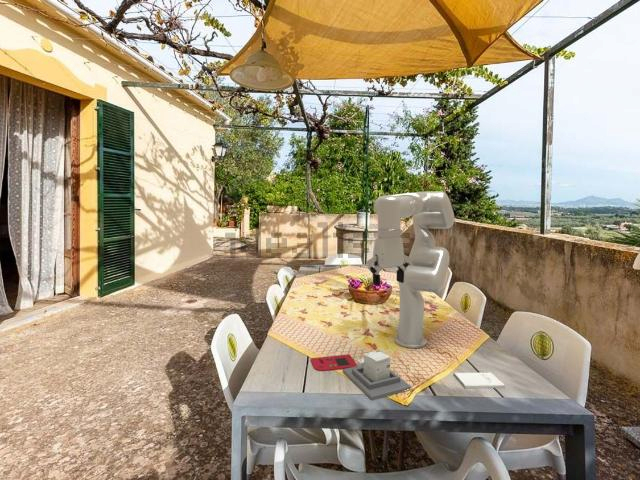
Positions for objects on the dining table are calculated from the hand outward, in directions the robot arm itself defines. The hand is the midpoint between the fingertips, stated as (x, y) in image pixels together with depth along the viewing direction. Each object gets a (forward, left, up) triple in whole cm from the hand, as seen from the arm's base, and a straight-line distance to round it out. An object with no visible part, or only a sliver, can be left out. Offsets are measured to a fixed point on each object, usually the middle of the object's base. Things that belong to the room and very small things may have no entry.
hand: (388, 283), depth 117 cm
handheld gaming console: (-8, -17, -30) cm, 35 cm away
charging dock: (+8, -10, -29) cm, 31 cm away
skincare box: (+8, -9, -28) cm, 31 cm away
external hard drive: (+21, +20, -30) cm, 42 cm away
